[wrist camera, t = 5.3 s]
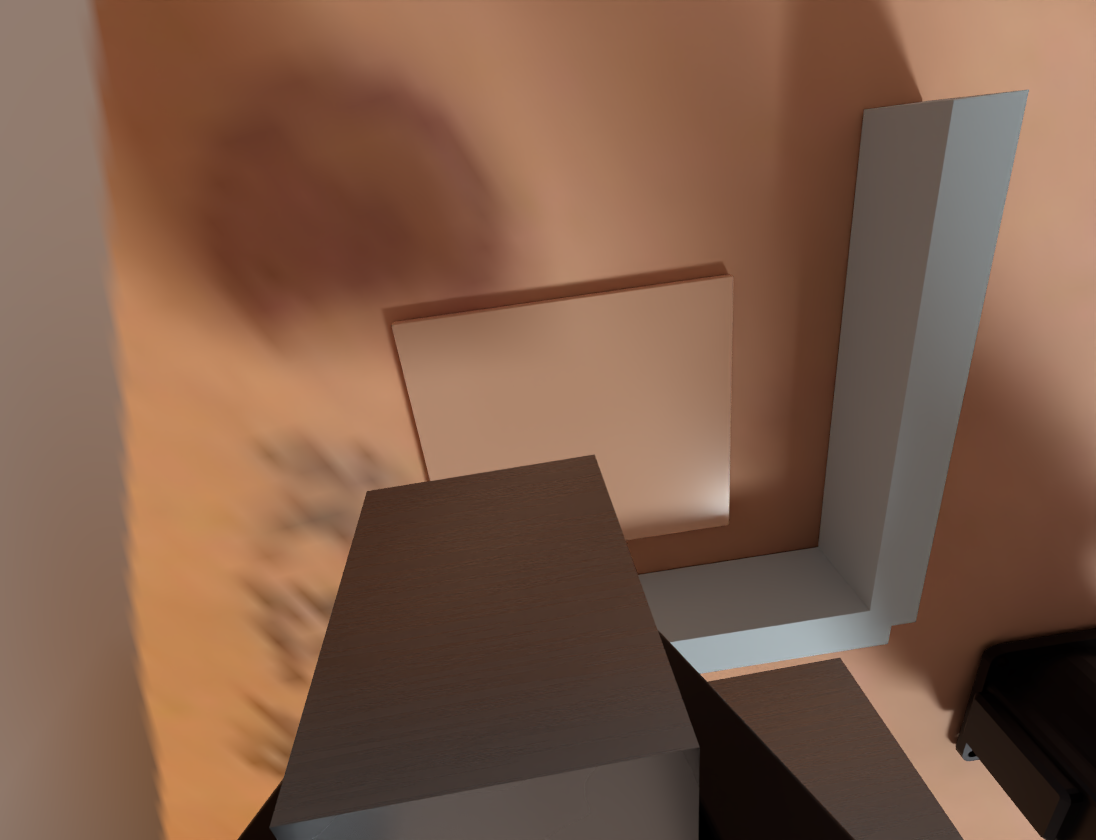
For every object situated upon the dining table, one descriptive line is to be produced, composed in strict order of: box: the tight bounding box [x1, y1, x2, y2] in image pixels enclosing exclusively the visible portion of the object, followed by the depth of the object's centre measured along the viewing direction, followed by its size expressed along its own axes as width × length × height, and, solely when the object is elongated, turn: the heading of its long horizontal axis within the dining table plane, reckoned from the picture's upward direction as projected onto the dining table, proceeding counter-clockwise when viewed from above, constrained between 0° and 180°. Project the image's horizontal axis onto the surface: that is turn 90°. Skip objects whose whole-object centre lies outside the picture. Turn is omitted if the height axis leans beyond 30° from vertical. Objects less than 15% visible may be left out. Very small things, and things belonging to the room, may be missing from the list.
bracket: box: [269, 454, 963, 840], centre depth 8 cm, size 8×7×4 cm
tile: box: [391, 274, 734, 541], centre depth 17 cm, size 9×8×1 cm
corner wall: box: [638, 90, 1029, 674], centre depth 16 cm, size 15×15×3 cm
